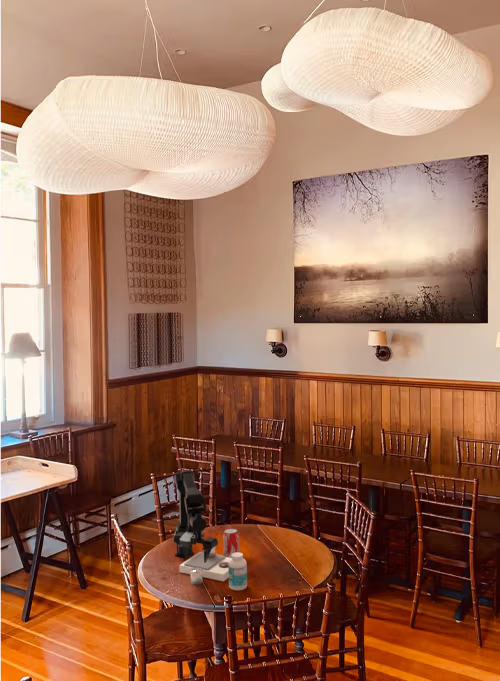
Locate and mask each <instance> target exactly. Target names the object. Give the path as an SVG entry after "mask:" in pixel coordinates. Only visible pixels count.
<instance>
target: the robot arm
mask: <svg viewBox="0 0 500 681" xmlns="http://www.w3.org/2000/svg"><path fill="white" fill-rule="evenodd" d="M173 479H174V484H175V486H176V488H177V491H178V493H179V495H178V496H179V497H178V498H179V520H178V522H177V524H176V527H175V529H176V530H174V535H173V539H172V540H173V543H175V545H176V553H175V554H174V556H175V557H180V558H184V559H185V560H188V559H189V556H192V555H193V554H194V553H195V552H194V551H193V545H195V546H196V544H202V548H201V549H202V550H203V551H202V552H204V563H206V562H207V559H208V557H209V554H210V552H211V550H212V548H214V547H215V546H216V547H217V546H218V545H219V541H218V540H219V539H217V538H216V537H214V536H213V537H211V536H208V537H206V538H204V537H205V535H204V533H203V531H204V530H205V529H206V527H207V520H206V519H205V517H204V516H203V513H206V512H207V511H206V509H207V503H206V498H205V496H204V495H203V494H202V492H201V490H199V488H197V487H196V483H195V480H196V479H195V472H193V470H189V469H188V470H181V471H180V472H178V473H177V472H176V474H175V475H174V478H173Z"/></svg>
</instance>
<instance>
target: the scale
mask: <svg viewBox="0 0 500 681" xmlns="http://www.w3.org/2000/svg"><path fill="white" fill-rule="evenodd" d="M230 559H232V558H228V557H225V556H224V554H223V555H222V554H217V553H216V557H214V558H208V559H207V562H206V563H204V551H199V552H197V553H196V554H195V555H193V556H191V557H190V558H187V559H186V560H185V561H183V562H182V563H181V564H179V572H180V573H183V574H187V575H190V570H191V569H193V568H201V569H202V574H203V578H205V579H206V578H207V579H210V580H215V581H220V582H225V581H227V579H229V571H228V562H229V560H230Z"/></svg>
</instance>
